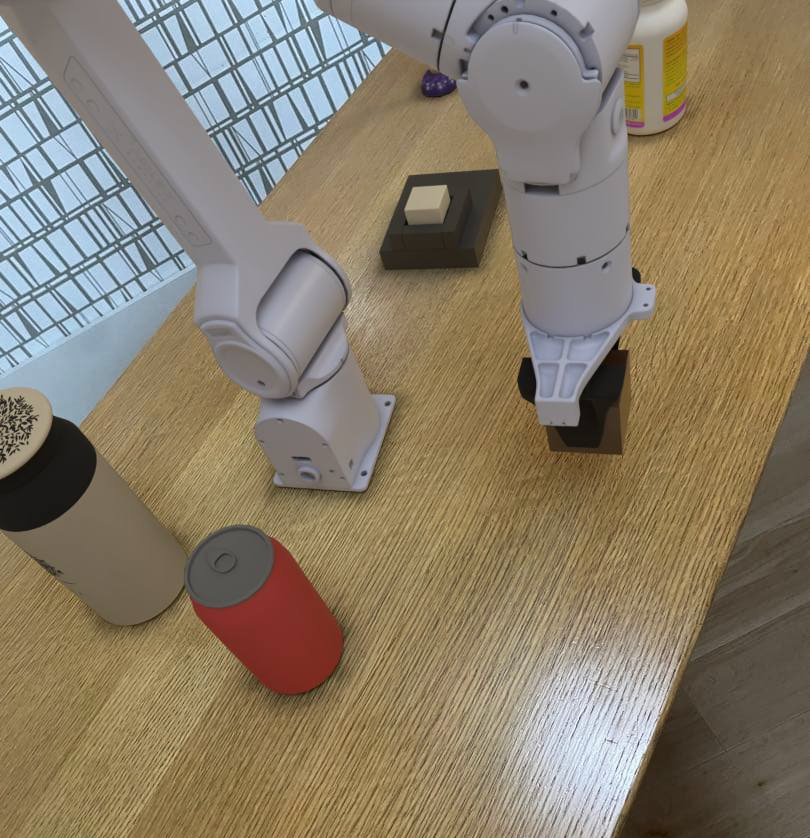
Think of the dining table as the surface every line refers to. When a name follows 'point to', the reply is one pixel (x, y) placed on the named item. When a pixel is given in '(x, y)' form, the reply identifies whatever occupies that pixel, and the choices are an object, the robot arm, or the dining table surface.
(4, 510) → the travel mug
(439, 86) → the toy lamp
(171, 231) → the robot arm
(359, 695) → the dining table surface
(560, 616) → the dining table surface
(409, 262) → the button base
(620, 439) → the walnut block
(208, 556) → the beer can
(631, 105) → the supplement bottle
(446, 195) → the key
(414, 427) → the dining table surface
